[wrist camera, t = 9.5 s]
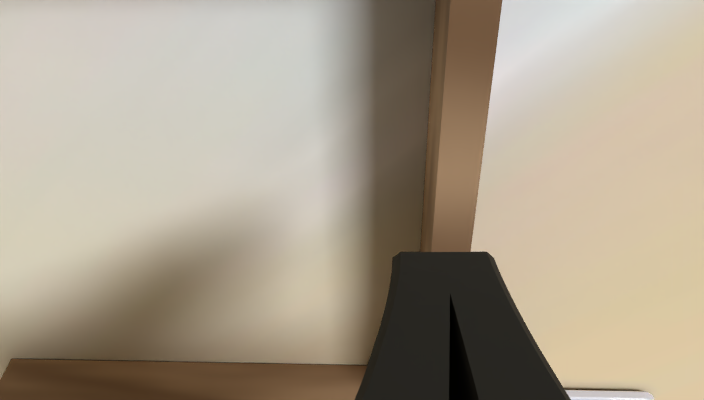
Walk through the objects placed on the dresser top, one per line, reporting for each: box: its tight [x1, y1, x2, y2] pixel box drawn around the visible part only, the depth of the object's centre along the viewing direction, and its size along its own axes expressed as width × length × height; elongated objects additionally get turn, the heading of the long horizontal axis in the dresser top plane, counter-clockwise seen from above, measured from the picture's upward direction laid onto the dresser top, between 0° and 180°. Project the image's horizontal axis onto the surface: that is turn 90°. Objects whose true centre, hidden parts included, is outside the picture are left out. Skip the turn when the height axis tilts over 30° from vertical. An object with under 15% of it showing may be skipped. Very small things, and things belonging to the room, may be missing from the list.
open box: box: [0, 0, 502, 400], centre depth 19 cm, size 20×17×4 cm
